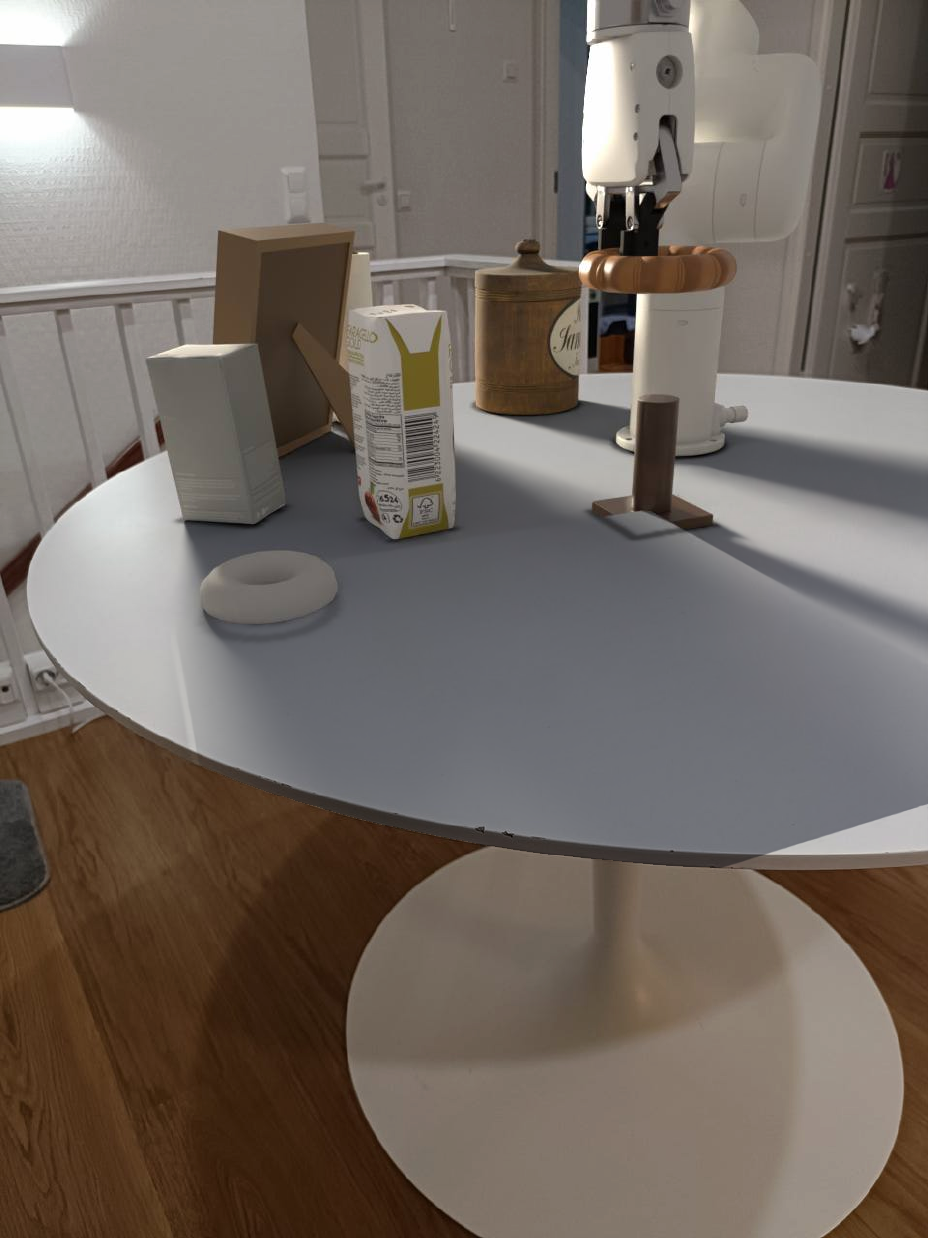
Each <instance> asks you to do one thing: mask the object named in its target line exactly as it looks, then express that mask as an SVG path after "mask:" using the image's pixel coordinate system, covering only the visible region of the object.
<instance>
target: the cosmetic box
mask: <svg viewBox="0 0 928 1238" xmlns="http://www.w3.org/2000/svg"><path fill="white" fill-rule="evenodd" d="M145 364H146V368H147V371H148V375H149V380H150V384H151V388H152V392H153V393H152V394H153V397H154V400H155V405H156V407H157V408H156V409H157V414H158V418H159V423H160V426H161V430H162V434H163V435H162V436H163V439H164V443H165V447H166V452H167V455H168V460H169V464H170V465H169V466H170V468H171V469H170V470H171V473H172V478H173V482H174V486H175V490H176V496H177V499H178V503H179V507H180V511H181V515H182V516H181V517H182V520H184V521H197V522H198V521H199V522H212V523H228V524H229V523H232V524H246V525H255V524H257V523H259V522H260V521H262V520H263V519H265V518H266V517H268V516H269V515H270V514H272V513H273V512H275V511H277V510H278V509H281V508H282V507H285V506H286V505H285V504H286V500H287V498H286V493H285V487H284V481H283V476H282V471H281V465H280V460H279V458H278V453H277V448H276V442H275V437H274V432H273V426H272V421H271V415H270V410H269V404H268V399H267V393H266V388H265V382H264V377H263V371H262V366H261V360H260V355H259V350H258V344H230V345H213V344H182V345H181V346H178V347H175V348H172V349H170V350H167V351H164V352H161V353H157V354H154V355H152V356H148V357H146V358H145Z"/></svg>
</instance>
